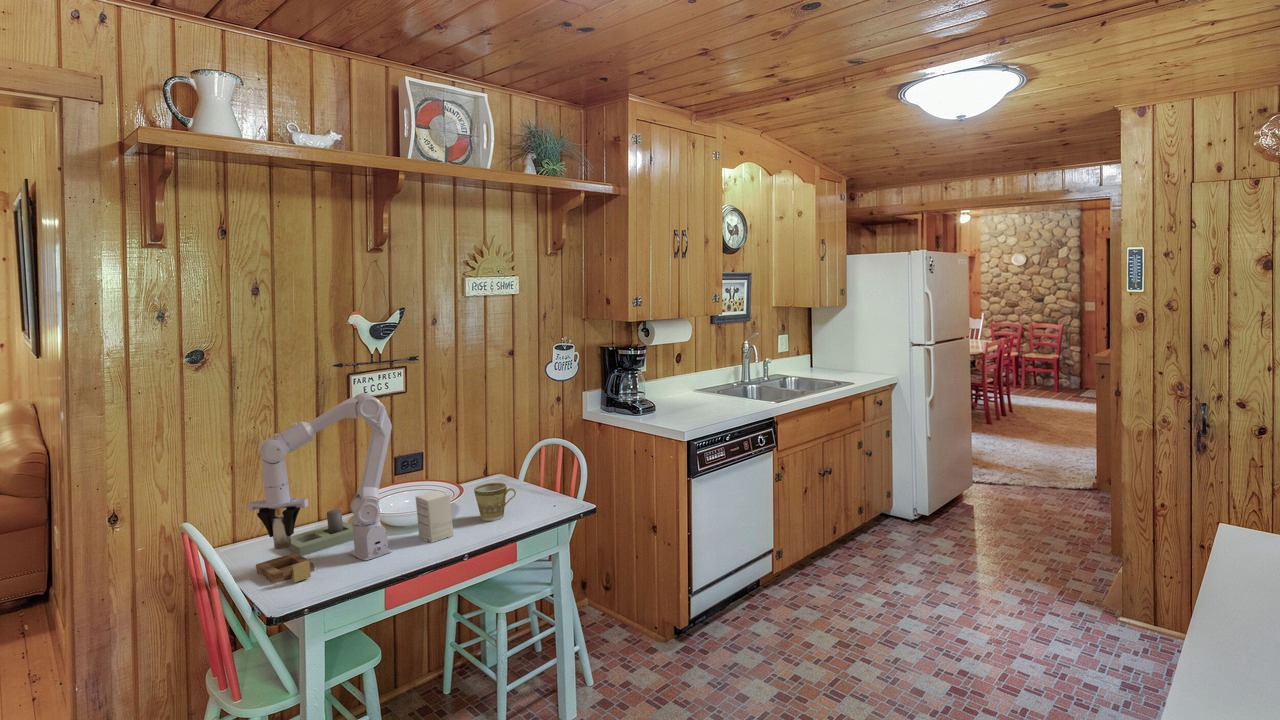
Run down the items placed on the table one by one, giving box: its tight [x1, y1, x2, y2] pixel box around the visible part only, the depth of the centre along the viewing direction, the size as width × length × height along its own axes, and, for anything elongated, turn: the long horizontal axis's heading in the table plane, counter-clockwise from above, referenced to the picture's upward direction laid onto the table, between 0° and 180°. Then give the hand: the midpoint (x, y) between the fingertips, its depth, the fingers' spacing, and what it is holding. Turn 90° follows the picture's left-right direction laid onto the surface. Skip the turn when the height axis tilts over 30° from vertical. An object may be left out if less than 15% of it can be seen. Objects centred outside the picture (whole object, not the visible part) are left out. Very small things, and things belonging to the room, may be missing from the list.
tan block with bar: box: [291, 561, 312, 583], centre depth 180 cm, size 8×4×4 cm, turn 48°
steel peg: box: [271, 514, 292, 550], centre depth 184 cm, size 4×4×8 cm
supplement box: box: [415, 490, 454, 544], centre depth 205 cm, size 7×7×13 cm
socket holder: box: [255, 552, 315, 584], centre depth 185 cm, size 12×10×2 cm
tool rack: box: [284, 509, 354, 557], centre depth 206 cm, size 12×18×8 cm, turn 138°
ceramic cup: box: [473, 481, 517, 522], centre depth 220 cm, size 13×10×10 cm
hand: (281, 535), depth 184 cm, fingers closed on steel peg, 4 cm apart
